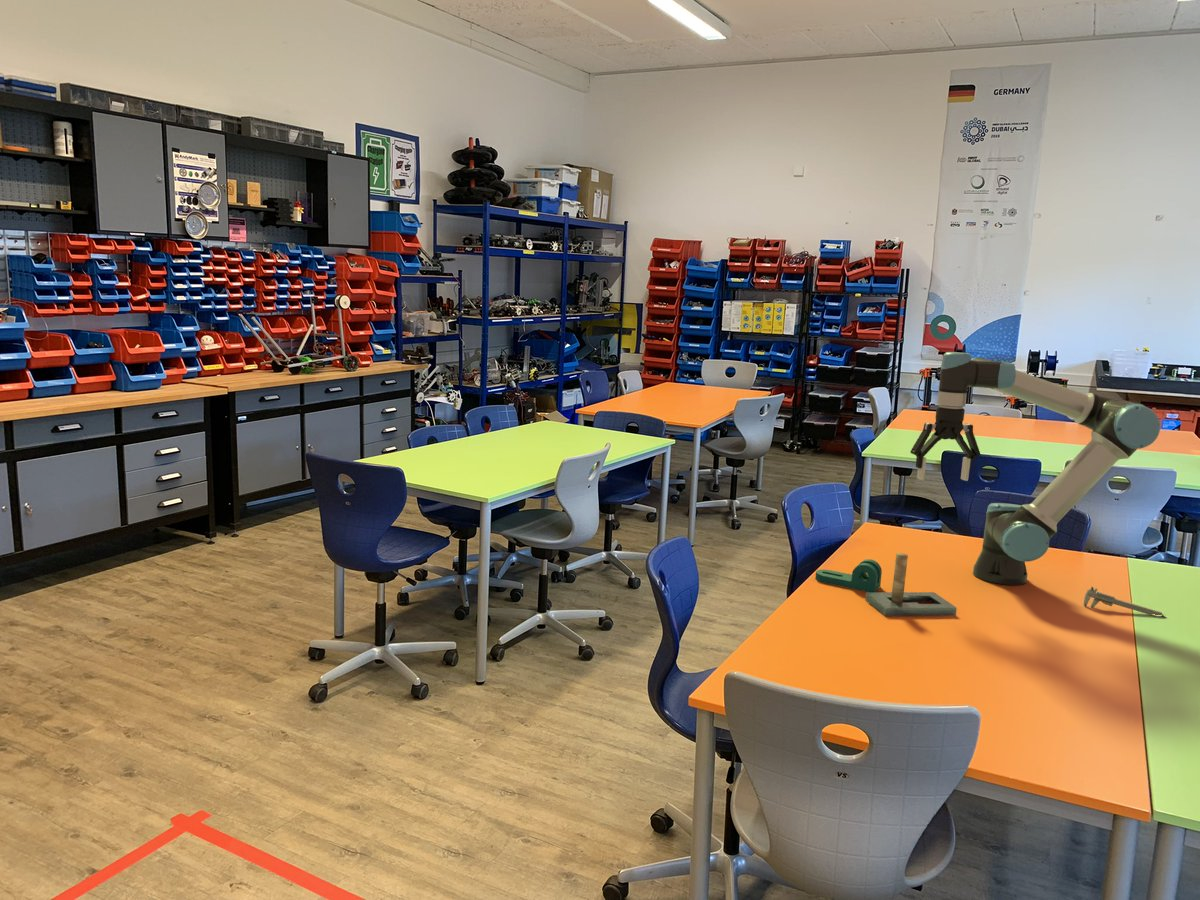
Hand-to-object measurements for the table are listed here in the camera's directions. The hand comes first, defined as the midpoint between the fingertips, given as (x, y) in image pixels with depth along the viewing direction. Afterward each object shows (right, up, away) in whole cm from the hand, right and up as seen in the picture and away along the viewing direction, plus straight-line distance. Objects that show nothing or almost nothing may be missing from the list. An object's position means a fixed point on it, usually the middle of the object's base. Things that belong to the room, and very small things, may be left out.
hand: (942, 479), depth 253 cm
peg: (-19, -34, -15) cm, 42 cm away
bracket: (-27, -31, +3) cm, 41 cm away
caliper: (+47, -37, -10) cm, 60 cm away
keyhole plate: (-15, -34, -15) cm, 40 cm away
